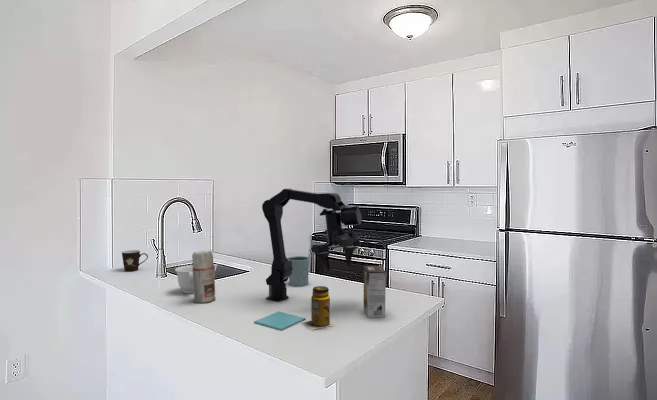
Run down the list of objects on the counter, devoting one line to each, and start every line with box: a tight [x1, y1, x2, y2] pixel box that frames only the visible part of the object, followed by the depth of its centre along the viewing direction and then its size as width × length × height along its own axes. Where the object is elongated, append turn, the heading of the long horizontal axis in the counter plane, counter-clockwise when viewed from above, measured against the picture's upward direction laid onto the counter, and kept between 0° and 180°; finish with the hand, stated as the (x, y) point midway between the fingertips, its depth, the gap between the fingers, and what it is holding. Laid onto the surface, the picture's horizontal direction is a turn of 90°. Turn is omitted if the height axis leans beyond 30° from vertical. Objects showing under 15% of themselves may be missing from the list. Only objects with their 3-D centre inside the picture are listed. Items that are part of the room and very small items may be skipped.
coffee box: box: [362, 265, 387, 318], centre depth 140 cm, size 9×6×16 cm
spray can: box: [191, 249, 216, 304], centre depth 155 cm, size 8×8×20 cm
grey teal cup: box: [286, 255, 310, 288], centre depth 180 cm, size 10×10×12 cm
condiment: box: [301, 285, 336, 331], centre depth 129 cm, size 7×8×12 cm
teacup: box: [174, 264, 194, 294], centre depth 166 cm, size 12×15×10 cm
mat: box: [253, 311, 306, 332], centre depth 132 cm, size 12×12×1 cm
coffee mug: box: [121, 249, 149, 273], centre depth 207 cm, size 12×9×10 cm
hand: (338, 268), depth 148 cm, fingers open, 9 cm apart
